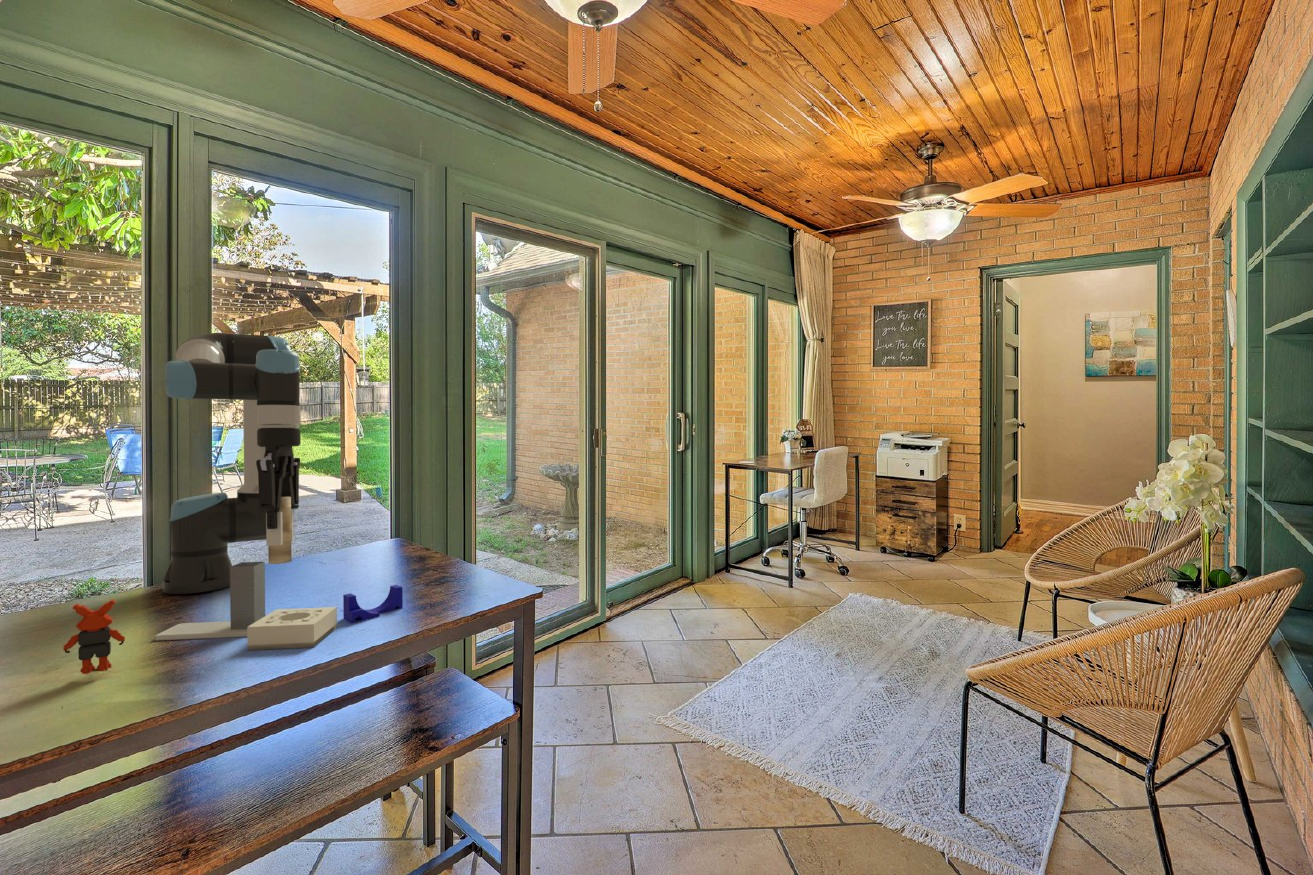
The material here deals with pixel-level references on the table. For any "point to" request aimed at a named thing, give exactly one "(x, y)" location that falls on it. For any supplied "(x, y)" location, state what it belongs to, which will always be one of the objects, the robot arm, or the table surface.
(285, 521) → the beech dowel
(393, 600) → the blue curved cradle
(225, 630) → the strip
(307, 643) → the socket block
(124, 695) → the table surface
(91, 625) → the toy animal
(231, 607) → the square bar
